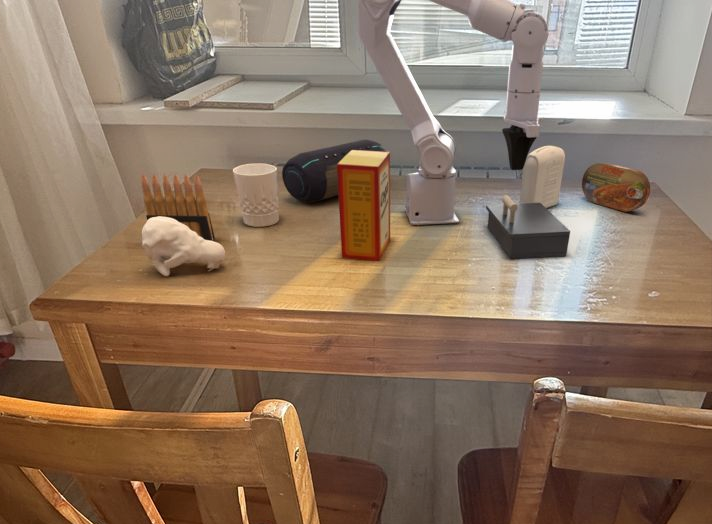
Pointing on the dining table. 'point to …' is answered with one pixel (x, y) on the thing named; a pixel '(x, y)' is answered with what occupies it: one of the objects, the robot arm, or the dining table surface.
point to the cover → (526, 219)
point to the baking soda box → (364, 204)
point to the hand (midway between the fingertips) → (516, 169)
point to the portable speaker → (319, 170)
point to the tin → (615, 186)
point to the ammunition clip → (179, 204)
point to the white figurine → (177, 245)
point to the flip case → (528, 243)
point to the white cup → (257, 193)
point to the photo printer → (542, 176)
